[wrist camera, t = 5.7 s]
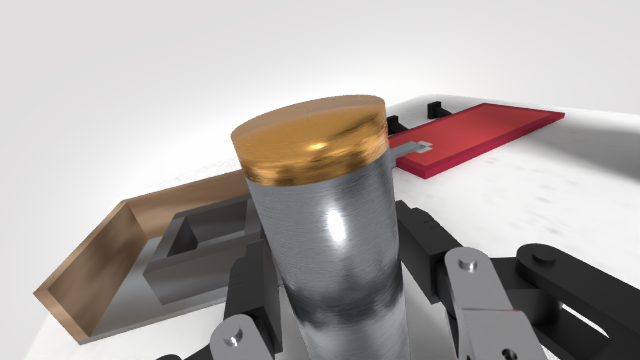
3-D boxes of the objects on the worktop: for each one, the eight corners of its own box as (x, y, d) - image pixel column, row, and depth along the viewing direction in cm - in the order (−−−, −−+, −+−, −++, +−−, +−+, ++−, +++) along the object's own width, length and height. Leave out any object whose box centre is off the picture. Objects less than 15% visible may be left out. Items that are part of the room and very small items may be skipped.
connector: (351, 335, 16) (294, 99, 10) (426, 371, 13) (408, 90, 8) (310, 411, 13) (198, 142, 7) (395, 472, 10) (330, 147, 5)
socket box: (145, 240, 29) (121, 200, 27) (317, 193, 31) (307, 152, 29) (80, 345, 19) (32, 293, 17) (346, 265, 20) (333, 208, 18)
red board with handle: (305, 164, 40) (364, 210, 27) (301, 145, 38) (360, 184, 26) (463, 108, 49) (562, 123, 36) (464, 92, 47) (567, 101, 35)
